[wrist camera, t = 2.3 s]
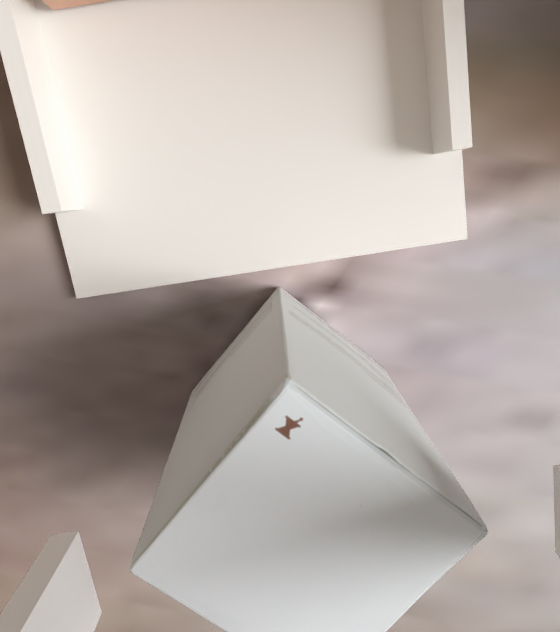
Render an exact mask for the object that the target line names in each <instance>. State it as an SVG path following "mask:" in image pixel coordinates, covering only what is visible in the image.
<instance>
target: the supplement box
mask: <svg viewBox="0 0 560 632" xmlns="http://www.w3.org/2000/svg"><path fill="white" fill-rule="evenodd" d="M487 532H488V531H487V527H486V525H485V524H484V522H483V521H482V519H481V517H480V516H479V514H478V513H477V511H476V509H475V508H474V506H473V504H472V503H471V501H470V499H469V498H468V496H467V495H466V493H465V492H464V490H463V488H462V487H461V485H460V484H459V482H458V481H457V479H456V478H455V476H454V475H453V473H452V472H451V470H450V469H449V467H448V466H447V464H446V463H445V461H444V460H443V458H442V457H441V455H440V454H439V452H438V451H437V449H436V448H435V446H434V445H433V443H432V442H431V440H430V439H429V437H428V436H427V434H426V433H425V431H424V430H423V428H422V427H421V425H420V424H419V422H418V421H417V419H416V417H415V416H414V414H413V413H412V411H411V410H410V408H409V407H408V405H407V404H406V402H405V401H404V399H403V398H402V396H401V395H400V393H399V392H398V390H397V389H396V387H395V385H394V384H393V382H392V381H391V379H390V377H389V376H388V374H387V373H386V371H385V370H384V369H383V368H382V367H380V366H379V365H378V364H377V363H376V362H375V361H373V360H372V359H371V358H370V357H369V356H367V355H366V354H365V353H364V352H362V351H361V350H360V349H359V348H357V347H356V346H355V345H354V344H352V343H351V342H350V341H349V340H347V339H346V338H345V337H344V336H342V335H341V334H340V333H338V332H337V331H336V330H335V329H333V328H332V327H331V326H330V325H328V324H327V323H326V322H324V321H323V320H322V319H321V318H319V317H318V316H317V315H316V314H314V313H313V312H312V311H310V310H309V309H308V308H307V307H305V306H304V305H303V304H301V303H300V302H299V301H298V300H296V299H295V298H294V297H292V296H291V295H290V294H289V293H287V292H286V291H285V290H284V289H282V288H281V287H277V289H276V290H275V291H274V292H273V294H272V295H271V296H270V297H269V299H268V300H267V301H266V302H265V303H264V304H263V306H262V307H261V308H260V309H259V311H258V312H257V313H256V314H255V315H254V317H253V318H252V319H251V320H250V321H249V323H248V324H247V325H246V326H245V327H244V329H243V330H242V331H241V332H240V333H239V335H238V336H237V337H236V338H235V339H234V341H233V342H232V343H231V344H230V346H229V347H228V348H227V349H226V350H225V352H224V353H223V354H222V355H221V356H220V358H219V359H218V360H217V361H216V362H215V364H214V365H213V366H212V367H211V368H210V370H209V371H208V372H207V373H206V375H205V376H204V377H203V378H202V379H201V381H200V382H199V383H198V384H197V386H196V387H195V388H194V389H193V391H192V393H191V395H190V398H189V401H188V404H187V407H186V410H185V412H184V415H183V418H182V421H181V424H180V426H179V430H178V432H177V435H176V438H175V441H174V444H173V446H172V449H171V452H170V455H169V457H168V460H167V463H166V466H165V468H164V471H163V474H162V477H161V479H160V482H159V485H158V488H157V491H156V494H155V497H154V499H153V502H152V505H151V508H150V511H149V514H148V516H147V519H146V522H145V525H144V528H143V531H142V534H141V537H140V539H139V542H138V545H137V548H136V550H135V553H134V556H133V559H132V562H131V566H130V572H131V573H132V574H134V575H135V576H137V577H138V578H140V579H142V580H144V581H145V582H147V583H148V584H150V585H152V586H153V587H155V588H157V589H158V590H160V591H162V592H163V593H165V594H166V595H168V596H169V597H171V598H173V599H174V600H176V601H178V602H179V603H181V604H183V605H184V606H186V607H187V608H189V609H191V610H192V611H194V612H195V613H197V614H198V615H200V616H202V617H203V618H205V619H206V620H208V621H210V622H211V623H213V624H214V625H216V626H217V627H219V628H221V629H222V630H224V631H225V632H386V631H387V630H388V629H389V628H390V627H391V626H392V625H393V624H394V623H395V622H396V621H397V620H398V619H399V618H400V617H401V616H402V615H403V614H404V613H405V612H406V611H407V610H408V609H409V608H410V607H411V606H412V605H413V604H414V603H415V602H416V601H417V600H418V599H419V598H420V597H421V596H422V595H423V594H424V593H425V592H426V591H427V590H428V589H429V588H430V587H431V586H432V585H433V584H434V583H435V582H436V581H437V580H439V579H440V578H441V577H442V576H443V575H444V574H445V573H446V572H447V571H448V570H449V569H450V568H451V567H453V566H454V565H455V564H456V563H457V562H458V561H459V560H460V559H461V558H462V557H463V556H464V555H465V554H466V553H467V552H468V551H469V550H470V549H471V548H472V547H473V546H474V545H476V544H477V543H478V542H479V541H480V540H481V539H482V538H483V537H485V535H486V534H487Z"/></svg>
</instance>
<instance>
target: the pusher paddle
mask: <svg viewBox="0 0 560 632" xmlns="http://www.w3.org/2000/svg"><path fill="white" fill-rule="evenodd" d="M42 1H43V2H44V3H45V4H47V5H48V6H49V7H50V8H51V9H52V10H57V9H63V8H69V7H75V6H81V5H87V4H94V3H100V2H106V1H112V0H42Z"/></svg>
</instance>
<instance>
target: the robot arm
mask: <svg viewBox="0 0 560 632" xmlns="http://www.w3.org/2000/svg"><path fill="white" fill-rule="evenodd" d="M553 470H554V511H555V552H556V554H557V555H558V556H559V558H560V465H555V466H553ZM101 613H102V612H101V608H100V605H99V601H98V598H97V594H96V591H95V587H94V584H93V580H92V577H91V573H90V570H89V566H88V563H87V559H86V556H85V552H84V549H83V545H82V541H81V538H80V534H79V531H77V532H69V533H62V534H55V535H51V537H50V538H49V540H48V541H47V543H46V544H45V546H44V548H43V549H42V551H41V552H40V554H39V555H38V557H37V558H36V560H35V561H34V563H33V564H32V566H31V568H30V569H29V571H28V572H27V574H26V575H25V577H24V578H23V580H22V581H21V583H20V584H19V586H18V587H17V589H16V591H15V592H14V594H13V595H12V597H11V598H10V600H9V601H8V603H7V604H6V606H5V607H4V609H3V611H2V612H1V614H0V632H94V630H95V628H96V625H97V623H98V621H99V618H100V616H101Z"/></svg>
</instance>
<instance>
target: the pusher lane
mask: <svg viewBox="0 0 560 632" xmlns="http://www.w3.org/2000/svg"><path fill="white" fill-rule="evenodd" d="M0 52H1V56H2V59H3V63H4V67H5V71H6V75H7V79H8V83H9V87H10V91H11V94H12V98H13V102H14V106H15V110H16V114H17V118H18V122H19V125H20V129H21V133H22V137H23V141H24V145H25V149H26V153H27V157H28V160H29V164H30V168H31V172H32V176H33V180H34V184H35V188H36V191H37V195H38V199H39V203H40V207H41V211H42V214H50V213H55V215H56V219H57V223H58V226H59V230H60V234H61V238H62V242H63V246H64V250H65V254H66V258H67V262H68V266H69V270H70V274H71V278H72V282H73V286H74V290H75V294H76V298H77V299H79V298H85V297H92V296H98V295H105V294H111V293H118V292H124V291H131V290H137V289H144V288H150V287H157V286H163V285H170V284H176V283H183V282H189V281H196V280H202V279H209V278H215V277H222V276H228V275H235V274H241V273H248V272H254V271H261V270H268V269H274V268H281V267H287V266H294V265H300V264H307V263H313V262H320V261H326V260H333V259H339V258H346V257H352V256H359V255H365V254H372V253H378V252H385V251H391V250H398V249H404V248H411V247H417V246H424V245H430V244H437V243H443V242H450V241H457V240H463V239H467V224H466V208H465V193H464V177H463V161H462V149H466V148H471V147H472V132H471V115H470V98H469V80H468V63H467V46H466V29H465V12H464V0H112V1H106V2H100V3H94V4H87V5H81V6H75V7H69V8H63V9H57V10H52V9H51V8H50V7H49V6H48V5H47V4H45V3H44V2H43V1H42V0H0Z"/></svg>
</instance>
